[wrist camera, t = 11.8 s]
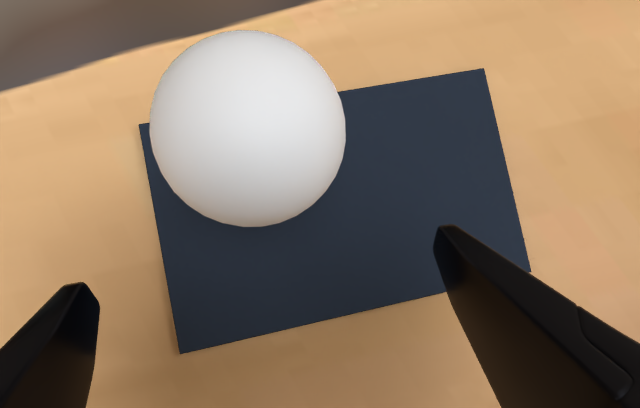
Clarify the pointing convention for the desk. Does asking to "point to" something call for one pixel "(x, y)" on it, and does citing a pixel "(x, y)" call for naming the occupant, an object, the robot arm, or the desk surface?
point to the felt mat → (348, 218)
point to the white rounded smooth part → (247, 128)
